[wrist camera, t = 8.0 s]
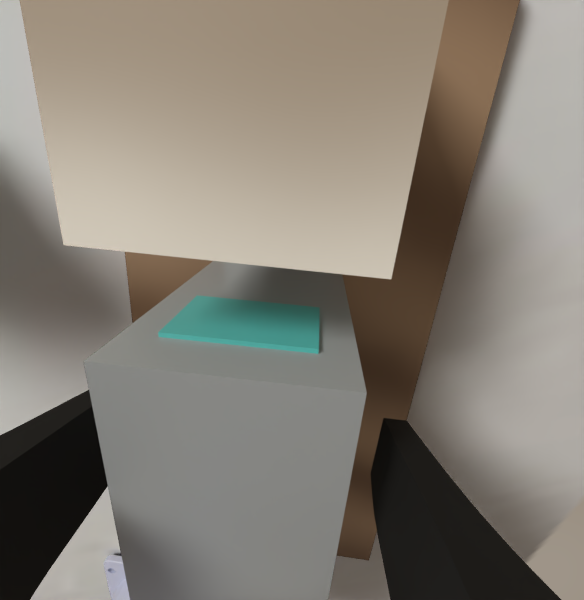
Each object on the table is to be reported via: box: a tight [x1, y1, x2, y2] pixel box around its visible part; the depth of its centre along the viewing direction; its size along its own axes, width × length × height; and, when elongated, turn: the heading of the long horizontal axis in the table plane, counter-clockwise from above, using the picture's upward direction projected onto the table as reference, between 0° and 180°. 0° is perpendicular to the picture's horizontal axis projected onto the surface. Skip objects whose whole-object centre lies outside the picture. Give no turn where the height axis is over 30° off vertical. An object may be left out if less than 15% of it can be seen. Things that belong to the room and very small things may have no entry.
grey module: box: [84, 261, 367, 600], centre depth 10 cm, size 7×4×7 cm, turn 176°
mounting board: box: [20, 0, 520, 560], centre depth 10 cm, size 25×12×8 cm, turn 175°
